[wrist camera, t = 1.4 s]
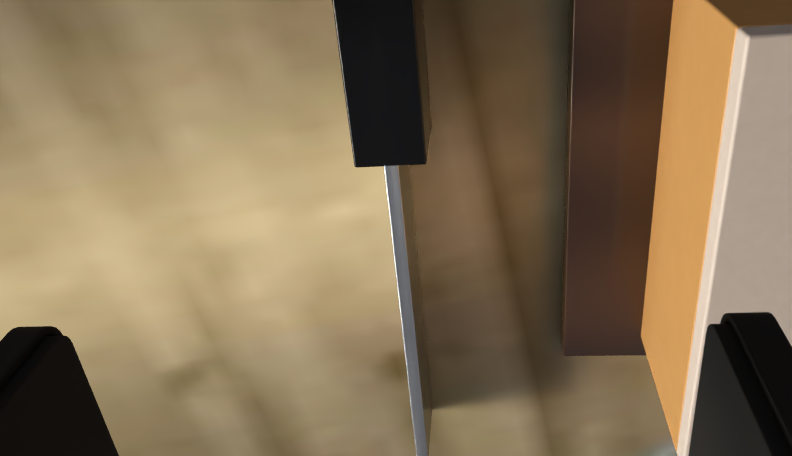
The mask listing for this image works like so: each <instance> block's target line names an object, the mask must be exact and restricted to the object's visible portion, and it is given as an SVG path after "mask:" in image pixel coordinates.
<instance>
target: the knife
mask: <svg viewBox="0 0 792 456" xmlns="http://www.w3.org/2000/svg"><path fill="white" fill-rule="evenodd" d="M332 2H333V10H334V17H335V25H336V32H337V40H338V47H339V54H340V62H341V69H342V77H343V84H344V92H345V99H346V107H347V114H348V121H349V129H350V136H351V144H352V151H353V159H354V165H355V167H375V166H384V171H385V180H386V189H387V198H388V207H389V216H390V225H391V234H392V243H393V252H394V261H395V270H396V278H397V287H398V296H399V305H400V314H401V323H402V332H403V341H404V350H405V359H406V368H407V377H408V386H409V394H410V403H411V412H412V421H413V430H414V439H415V448H416V456H429V443H430V430H431V416H432V405H431V395H430V384H429V373H428V362H427V351H426V341H425V330H424V319H423V308H422V297H421V287H420V276H419V265H418V254H417V244H416V233H415V222H414V211H413V200H412V190H411V179H410V168H409V165H421V164H426V162H427V156H428V149H429V142H430V135H431V127H432V123H431V110H430V96H429V83H428V69H427V55H426V42H425V28H424V14H423V1H422V0H332Z"/></svg>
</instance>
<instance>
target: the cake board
mask: <svg viewBox="0 0 792 456" xmlns="http://www.w3.org/2000/svg"><path fill="white" fill-rule="evenodd" d="M672 9H673V0H570V23H569V60H568V98H567V135H566V172H565V210H564V247H563V284H562V321H561V344H562V351H563V355H564V356H606V355H646V352H645V348H644V345H643V342H642V339H641V329H642V319H643V309H644V298H645V288H646V278H647V267H648V257H649V247H650V236H651V226H652V216H653V205H654V195H655V185H656V174H657V164H658V154H659V143H660V133H661V123H662V112H663V102H664V92H665V81H666V71H667V61H668V50H669V40H670V30H671V19H672Z"/></svg>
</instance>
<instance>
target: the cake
mask: <svg viewBox="0 0 792 456" xmlns="http://www.w3.org/2000/svg"><path fill="white" fill-rule="evenodd" d="M750 312H769V313H771V314H773V316H774V317H775V318H776V320H777V322H778V323H779V325H780V327H781V329H782V330H783V332H784V334H785V336H786V337H787V339H788V341H789V342H790V344H791V346H792V0H673V9H672V19H671V30H670V40H669V50H668V61H667V71H666V81H665V92H664V102H663V112H662V123H661V133H660V143H659V154H658V164H657V174H656V185H655V195H654V205H653V216H652V226H651V236H650V247H649V257H648V267H647V278H646V288H645V298H644V309H643V319H642V329H641V339H642V342H643V345H644V348H645V352H646V355H647V358H648V361H649V365H650V368H651V371H652V374H653V378H654V381H655V384H656V387H657V391H658V394H659V397H660V401H661V404H662V407H663V410H664V414H665V417H666V420H667V423H668V427H669V430H670V433H671V436H672V440H673V443H674V446H675V449H676V451H677V455H678V456H689V449H690V442H691V435H692V428H693V421H694V414H695V407H696V400H697V393H698V386H699V379H700V372H701V365H702V358H703V351H704V344H705V337H706V331H707V328H708V326H709V325H710V324H720V322H721V318H722V316H723V315H724V314H725V313H750Z"/></svg>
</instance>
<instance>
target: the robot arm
mask: <svg viewBox="0 0 792 456" xmlns="http://www.w3.org/2000/svg"><path fill="white" fill-rule="evenodd" d="M0 456H119V455H118V453H117V450H116V448H115V445H114V443H113V441H112V438H111V436H110V433H109V431H108V428H107V426H106V424H105V421H104V419H103V416H102V414H101V411H100V409H99V407H98V404H97V402H96V399H95V397H94V394H93V392H92V389H91V387H90V385H89V382H88V380H87V377H86V375H85V372H84V370H83V368H82V365H81V363H80V360H79V358H78V355H77V353H76V351H75V348H74V346H73V343H72V342H71V340H70V339H69V338H68V337H67V336H63V335H62V333H61V332H60V331H59V330H58V329H57V328H56V327H51V326H44V327H17V328H14V329H12V330H11V331H10V332H8V333H7V334H6V336H5V337H4V338H3V339H2V340H1V341H0ZM689 456H792V346H791V344H790V342H789V341H788V339H787V337H786V336H785V334H784V332H783V330H782V329H781V327H780V325H779V323H778V322H777V320H776V318H775V317H774V316H773V314H771V313H769V312H750V313H725V314H724V315H723V316H722V318H721V322H720V324H710V325H709V326H708V328H707V331H706V337H705V344H704V351H703V358H702V365H701V372H700V379H699V386H698V393H697V400H696V407H695V414H694V421H693V428H692V435H691V442H690V449H689Z"/></svg>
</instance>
